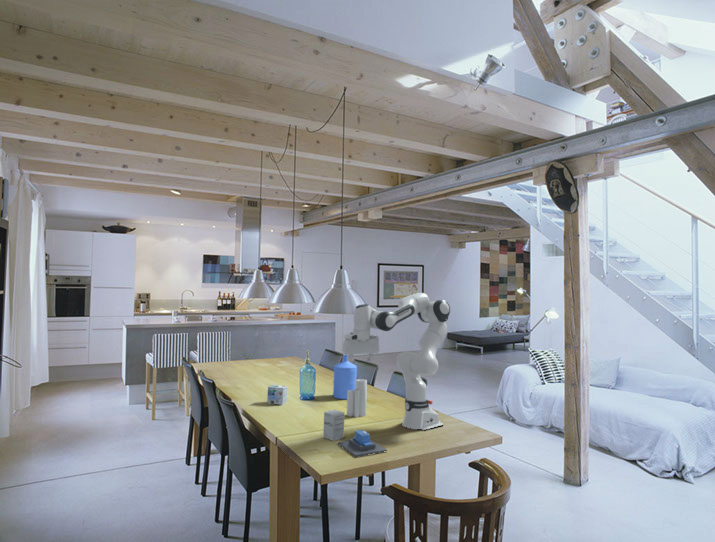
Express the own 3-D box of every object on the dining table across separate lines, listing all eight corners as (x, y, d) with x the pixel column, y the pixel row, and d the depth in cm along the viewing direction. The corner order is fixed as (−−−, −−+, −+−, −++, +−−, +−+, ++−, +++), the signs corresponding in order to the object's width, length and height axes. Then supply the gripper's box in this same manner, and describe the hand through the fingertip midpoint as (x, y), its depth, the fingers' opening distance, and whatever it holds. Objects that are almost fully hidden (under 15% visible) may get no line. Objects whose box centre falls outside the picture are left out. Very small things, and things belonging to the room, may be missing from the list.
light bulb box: (266, 404, 280) (267, 386, 280) (271, 401, 286) (271, 384, 286) (282, 405, 277) (283, 387, 277) (287, 402, 284) (287, 385, 284)
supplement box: (322, 437, 220) (323, 411, 220) (334, 434, 225) (334, 409, 225) (332, 441, 214) (333, 414, 215) (344, 438, 219) (344, 412, 220)
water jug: (355, 400, 295) (357, 357, 296) (332, 399, 295) (333, 356, 296) (356, 394, 310) (357, 353, 311) (333, 393, 311) (335, 353, 312)
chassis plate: (367, 439, 218) (367, 433, 218) (387, 452, 202) (387, 445, 202) (337, 444, 211) (337, 438, 211) (355, 457, 195) (355, 450, 195)
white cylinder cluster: (362, 412, 265) (363, 378, 266) (368, 416, 259) (369, 381, 260) (345, 414, 260) (346, 380, 261) (350, 418, 254) (351, 382, 255)
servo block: (359, 441, 213) (360, 426, 213) (372, 449, 202) (372, 433, 202) (352, 442, 211) (352, 427, 211) (364, 450, 200) (365, 435, 201)
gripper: (375, 334, 241) (375, 360, 241) (341, 335, 232) (340, 362, 231) (381, 335, 236) (381, 362, 235) (347, 336, 226) (346, 364, 226)
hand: (360, 362), depth 233 cm, fingers open, 8 cm apart
